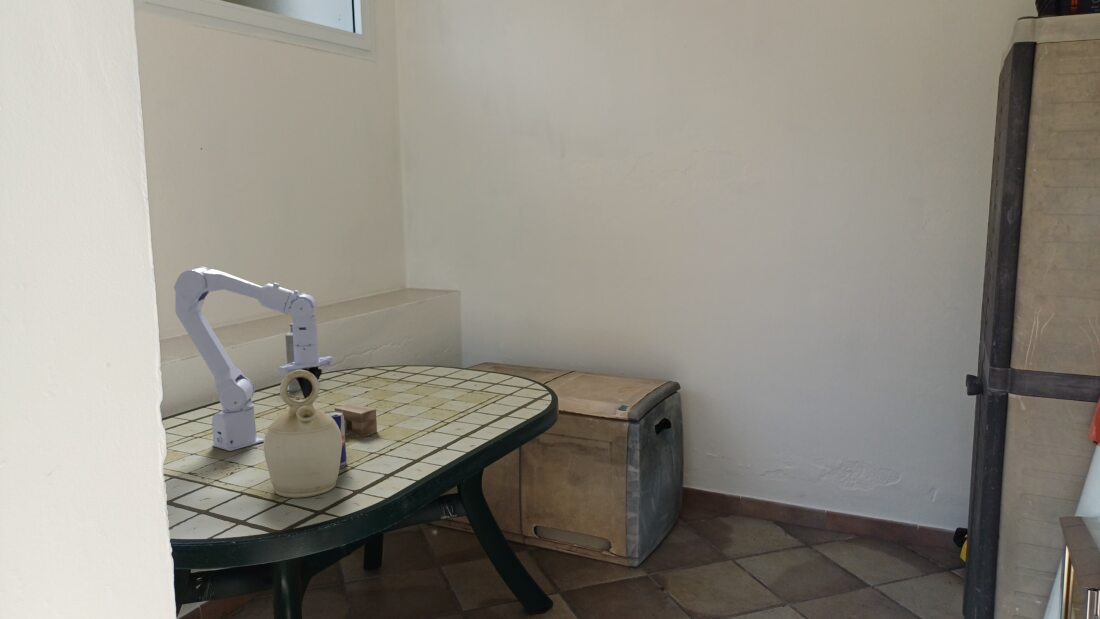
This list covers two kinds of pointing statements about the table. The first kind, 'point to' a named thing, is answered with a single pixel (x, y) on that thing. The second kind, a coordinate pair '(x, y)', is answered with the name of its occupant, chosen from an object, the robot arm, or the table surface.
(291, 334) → the hip flask
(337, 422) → the energy drink
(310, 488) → the jug
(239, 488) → the table surface
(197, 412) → the table surface
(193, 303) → the robot arm
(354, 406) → the socket block
